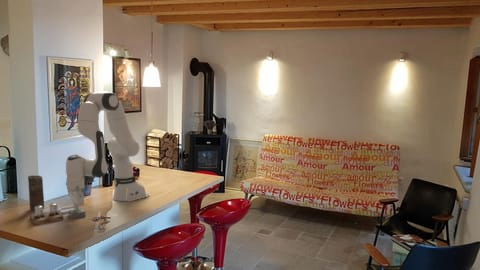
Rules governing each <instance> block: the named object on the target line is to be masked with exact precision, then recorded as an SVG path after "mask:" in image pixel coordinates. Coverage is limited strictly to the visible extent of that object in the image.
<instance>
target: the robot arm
mask: <svg viewBox="0 0 480 270" xmlns="http://www.w3.org/2000/svg"><path fill="white" fill-rule="evenodd" d="M101 111H104V112H105V114H106V120H107V124H108V128H109V132H110V133H111V134H112V136H113V137H112V138H110V139H108V141H107V146H106V144H105V136H104V133H103V132H102V131H101V129H100V124H99V122H100V120H99V119H100V117H99V116H100V112H101ZM77 115H78V116H77V131H78V132H79V134H80V135H82V137H84V138H87V139H88V140H90V141H91V142H92V143H93V145H94V152H95V153H94V154H95V155H94V156H95V159H93V158H85V157H83V156H82V154H72V155H69V156H67V159H66V161H65V173H66V182H65V186H66V190H67V193H68V194H67V195H68V198H69V199H70V200H71V201H72V203H73V206H74V209H75V210H79V209H80V206H84V205H85V195H84V191H83V189H84V188H85V177H84V176H86V177H94V178H99V179H102V177H104V176H105V175H106V174H107V173H108V172H109V171H108V170H109V165H108V161H107V157H106V156H107V154H106V147H107V149H108V151H109V152H110V155H111V157H112V161H113V165H114V166H113V167H114V177H113V184H114V191H113V196H112V199H113V201H118V202H134V201H137V199H138V200H141V198H142V199H145V197H146V198H149V197H150V195H149V193H148V192H147V191H146V188H145V186H144V185H143V184H141V183H139V182H138V181H139V177H138V176H136V175H134V170H133V169H134V167H133V165H134V164H133V162H132V161H131V159H130V157H135V156H137V155H138V154H139V152H140V148H141V147H140V144H139V143H138V142H137V141H136V139H135V138H134V137H133V135H132V133H131V129H130V128H129V124H128V121H127V116H126V112H125V109H124V107H123V103H122V101H120V100H119V97H118V95H117V94H116V93H114V92H112V91H96V92H90V93H87V94H86V95H85V97H84V99H83V102H82V103H81V104H80V107H79V111H78V114H77Z"/></svg>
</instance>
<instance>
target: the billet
mask: <svg viewBox="0 0 480 270" xmlns="http://www.w3.org/2000/svg"><path fill="white" fill-rule="evenodd" d="M57 210H58V203H56V202H53V203H50V204H49V211H50V216H54V215H58V214H57Z"/></svg>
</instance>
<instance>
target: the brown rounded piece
mask: <svg viewBox="0 0 480 270" xmlns="http://www.w3.org/2000/svg"><path fill="white" fill-rule="evenodd" d="M27 178H28V179H27V183H28V197H29V198H28V199H29V210H30V211H31V212H35V206H39V205H41V206H43V209H44V208H45V197H44V196H45V195H44V182H43V176H41V175H29V176H27Z"/></svg>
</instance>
